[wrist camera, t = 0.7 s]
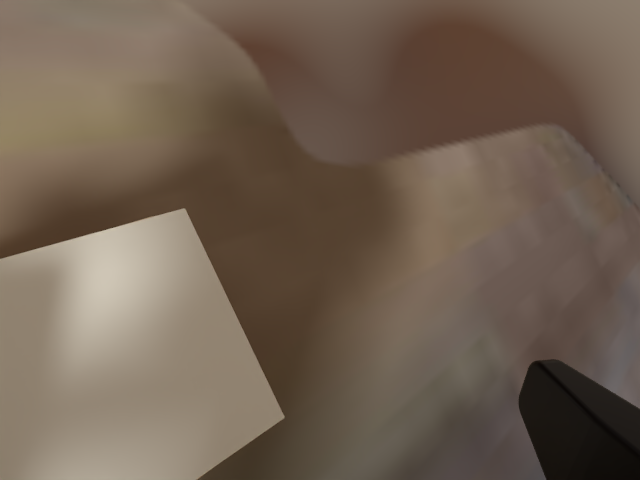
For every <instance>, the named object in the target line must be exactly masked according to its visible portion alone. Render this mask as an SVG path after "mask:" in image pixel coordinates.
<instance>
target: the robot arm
mask: <svg viewBox="0 0 640 480" xmlns="http://www.w3.org/2000/svg"><path fill="white" fill-rule="evenodd" d="M519 409H520V413H521V416H522V418H523V421H524V423H525V426H526V428H527V431H528V434H529V436H530V439H531V441H532V444H533V446H534V449H535V452H536V454H537V457H538V459H539V462H540V464H541V467H542V470H543V472H544V475H545V477H546V480H640V409H639V408H638V407H636V406H634V405H633V404H631V403H629V402H628V401H626V400H624V399H623V398H621V397H619V396H618V395H616V394H615V393H613V392H611V391H610V390H608V389H606V388H605V387H603V386H601V385H600V384H598V383H596V382H595V381H593V380H591V379H590V378H588V377H586V376H585V375H583V374H582V373H580V372H578V371H577V370H575V369H573V368H572V367H570V366H568V365H567V364H565V363H563V362H562V361H559V360H555V359H551V360H538V361H534V362H532V363H531V364H530V366H529V368H528V371H527V374H526V377H525V380H524V383H523V386H522V389H521V392H520V395H519Z"/></svg>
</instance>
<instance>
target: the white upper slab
mask: <svg viewBox="0 0 640 480" xmlns="http://www.w3.org/2000/svg"><path fill="white" fill-rule="evenodd" d="M284 418H285V417H284V415H283V413H282V411H281V409H280V406H279V404H278V402H277V400H276V398H275V396H274V394H273V392H272V390H271V388H270V385H269V383H268V381H267V379H266V377H265V375H264V373H263V371H262V369H261V367H260V365H259V362H258V360H257V358H256V356H255V354H254V352H253V350H252V348H251V346H250V344H249V341H248V339H247V337H246V335H245V333H244V331H243V329H242V327H241V325H240V323H239V321H238V318H237V316H236V314H235V312H234V310H233V308H232V306H231V304H230V302H229V300H228V297H227V295H226V293H225V291H224V289H223V287H222V285H221V283H220V281H219V279H218V277H217V274H216V272H215V270H214V268H213V266H212V264H211V262H210V260H209V258H208V256H207V254H206V251H205V249H204V247H203V245H202V243H201V241H200V239H199V237H198V235H197V233H196V230H195V228H194V226H193V224H192V222H191V220H190V218H189V216H188V214H187V212H186V210H185V208H183V209H180V210H176V211H172V212H169V213H165V214H162V215H158V216H154V217H151V218H147V219H143V220H140V221H136V222H133V223H129V224H125V225H122V226H118V227H114V228H111V229H107V230H103V231H100V232H96V233H93V234H89V235H85V236H82V237H78V238H74V239H71V240H67V241H64V242H60V243H56V244H53V245H49V246H45V247H42V248H38V249H34V250H31V251H27V252H24V253H20V254H16V255H13V256H9V257H5V258H2V259H0V480H196V479H198V478H199V477H200V476H202V475H203V474H205V473H206V472H208V471H209V470H211V469H212V468H213V467H215V466H216V465H218V464H219V463H221V462H222V461H223V460H225V459H226V458H228V457H229V456H231V455H232V454H233V453H235V452H236V451H238V450H239V449H241V448H242V447H244V446H245V445H246V444H248V443H249V442H251V441H252V440H254V439H255V438H256V437H258V436H259V435H261V434H262V433H264V432H265V431H266V430H268V429H269V428H271V427H272V426H274V425H275V424H277V423H278V422H279V421H281V420H282V419H284Z"/></svg>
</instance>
